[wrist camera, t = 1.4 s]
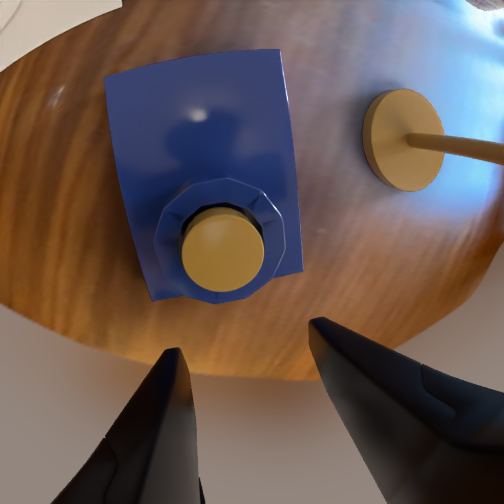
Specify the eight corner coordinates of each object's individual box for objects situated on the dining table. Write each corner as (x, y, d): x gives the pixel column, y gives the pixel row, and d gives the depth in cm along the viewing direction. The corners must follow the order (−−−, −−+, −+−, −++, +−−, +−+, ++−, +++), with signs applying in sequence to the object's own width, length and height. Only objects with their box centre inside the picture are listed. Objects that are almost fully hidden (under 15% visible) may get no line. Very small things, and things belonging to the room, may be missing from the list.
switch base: (293, 258, 21) (314, 284, 17) (155, 285, 19) (148, 317, 16) (270, 58, 15) (289, 39, 11) (113, 83, 14) (92, 70, 10)
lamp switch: (261, 269, 16) (268, 283, 15) (191, 283, 16) (191, 299, 14) (252, 200, 15) (259, 208, 13) (175, 214, 14) (173, 223, 13)
